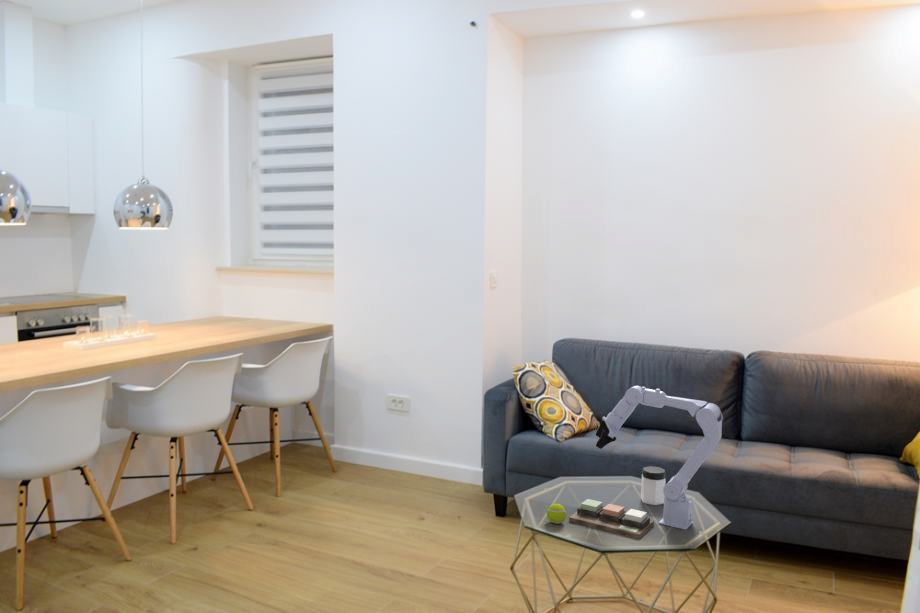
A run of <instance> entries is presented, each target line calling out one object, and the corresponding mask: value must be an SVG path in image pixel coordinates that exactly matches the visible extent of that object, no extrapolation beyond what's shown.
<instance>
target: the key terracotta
mask: <svg viewBox="0 0 920 613" xmlns="http://www.w3.org/2000/svg"><path fill="white" fill-rule="evenodd" d="M624 511H625V507H624V506H621V505H617V504H612V503H608V504H606V505H605V507H604V508H603V514H606V515H610V516H614V517H620V516H621V515H622V514H623V513H624Z"/></svg>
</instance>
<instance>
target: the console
mask: <svg viewBox="0 0 920 613" xmlns="http://www.w3.org/2000/svg"><path fill="white" fill-rule="evenodd" d="M605 506H606V505H605ZM605 506H604V505H602V508H601V509H600V510H599V511H597V512H593V511H589V510H585V509H581V505H580V506H579V507H577V510H576V511H575V512H574V513H573V514H572V515H570V516H569V517H568V522H571V523H574V524H578V525H582V526H587V527H590V528H594V529H597V530H603V531H606V532H609V533H613V534H619V535H621V536H626V535H627V536H626V537H630V538H635V539H639V540H640V539H641V538H642V537H644V535H645V534H647V533H648V532H649V530H650V529H651V528H652V527H654V525H655V521H654V520H652V519H651V517H650V516H649V515H647V518H646V519H645V520H644V521H643V522H642V523H640V522H635V521H631V520H627V519H625V513H627V512H628V510H627V511H626V510H624V513H623V514H622V515H621V516H620V517H614V516H610V515H606V514H603V508H604V507H605Z"/></svg>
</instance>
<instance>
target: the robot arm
mask: <svg viewBox="0 0 920 613" xmlns="http://www.w3.org/2000/svg"><path fill="white" fill-rule="evenodd" d="M639 404H640V405H642V406H643V405H644V406H647V407H653V408H658V409H659V408H660V409H662V408H663V407H664V406H666V407H671V408H675V409H679V410H684V411H687V412H688V413H689V415H690V416H691V417H692V418H694V417H695V420H696V422H697V424H698V425H699V427H700V428H701V429H702V432H703V435H704V437H703V438H702V440H701V441H700V442H699V444H698V445H697V446H696V448H695V449H694V450H693V451H692V453H691V454H690V456H689V457H688V459H687V460H686V461H685V462H684V464H683V466H682V467H681V468H680V469H679V471H678V472H677V473H676V474H675V475H672V477H671V478H670V479H669V481H668V482H665V485H664V487H663V493H664V504H663V510H662V511H663V512H662V513H663V514H662V518H661V519H660V521H658V524H659V525H665V526H669V527H672V528H675V529H680V530H681V529H682V530H688V528H689V527H690V526H691V525H692V524H693V523H694V521H693V513H694V503H693V501H691V500H688V499H687V496H686V494H685V492H687V490H688V488H689V487H688V486H689V482H690V481H691V479H692V478H693V477H694V475H695V474H696V472H698V470H699V468H700V467H701V466H702V465H703V463H704V462H705V460H706V459H707V458H708V456H709V455H710V454H711V452H712V451H713V450H714V449H715V447H716V446H717V444H718V443H719V442H720V441H721V439H722V433H723V432H722V428H723V418H724V417H723V414H722V411H721V409H720V407H719V406H718V405H717V404H715V403H712V402H708V401H705V400H699V399H691V398H685V397H679V396H670V395H667V394H666V393H665V391H661V389H660V388H656V389H652V388H651V389H650V388H647V387H646V386H640V385H633V386H631V387H629V388H628V389H627V390H626V391H625V393H624V395H623V396H622V398H621V399H620V400H619V401H618V403H617V404H616V405H615V406H614V408H613V409H612V411H611V412H610V411H609V413H608V414H607V415H606V417H605V416H603V415H602V416H601V420H600V424H599V426H598V428H597V430H596V432H595V436H596V437H597V438H598V439H597V442H596V443H595V447H597V448H598V449H600V450H601V449H603V448H604V447H605V446H607V445H608V444H610V443H613V442H615V441H616V440H617V436H616V435H617V433H618V432H619V430H620V429H621V427H622V426H623V424H625V423H626V421H627V420H628V418H629V417H630V416H631V414H632V413H633V412H634V411H635V409H636V407H637V406H638V405H639Z"/></svg>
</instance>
